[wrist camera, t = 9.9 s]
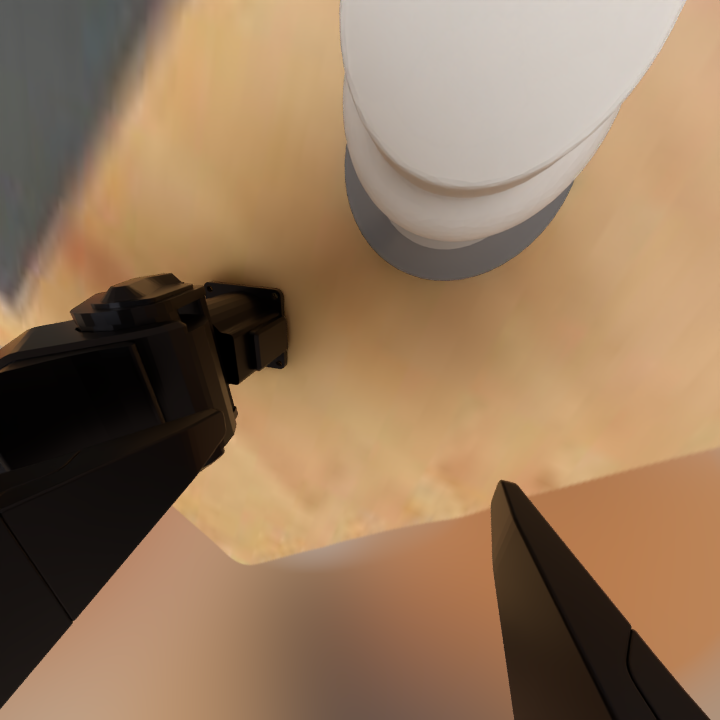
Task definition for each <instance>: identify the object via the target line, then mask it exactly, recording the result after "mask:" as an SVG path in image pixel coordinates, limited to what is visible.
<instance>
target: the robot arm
mask: <svg viewBox="0 0 720 720" xmlns="http://www.w3.org/2000/svg"><path fill="white" fill-rule="evenodd" d="M210 286H211V287H212V289H213V291H212V290H211V288H210ZM274 293H276V294H277V296H278V298H275V297H274ZM205 296H206V299H205ZM70 313H71V315H72V318H73V320H71V321H66V322H60V323H55V324H49V325H44V326H38V327H34V328H31V329H29V330H27V331H25V332H24V333H22V334H21V335H20V336H18V337H17V338H15V339H14V340H12V341H11V342H10V343H8V344H7V345H5V346H4V347H3V348H1V349H0V709H1V708H2V706H3V705H4V704H5V703H6V702H7V701H8V699H9V698H10V697H11V696H12V695H13V693H14V692H15V691H16V690H17V689H18V687H19V686H20V685H21V684H22V683H23V682H24V680H25V679H26V678H27V677H28V676H29V674H30V673H31V672H32V671H33V670H34V668H35V667H36V666H37V665H38V664H39V663H40V661H41V660H42V659H43V658H44V657H45V655H46V654H47V653H48V652H49V651H50V650H51V648H52V647H53V646H54V645H55V644H56V642H57V641H58V640H59V639H60V638H61V636H62V635H63V634H64V633H65V632H66V631H67V629H68V628H69V627H70V626H71V624H72V623H73V621H74V620H75V619H76V618H77V617H78V616H79V615H80V614H81V612H82V611H83V610H84V609H85V608H86V606H87V605H88V604H89V603H90V602H91V601H92V599H93V598H94V597H95V596H96V595H97V593H98V592H99V591H100V590H101V589H102V587H103V586H104V585H105V584H106V583H107V582H108V580H109V579H110V578H111V577H112V576H113V574H114V573H115V572H116V571H117V569H119V567H120V566H121V565H122V564H123V563H124V561H125V560H126V559H127V558H128V557H129V555H130V554H131V553H132V552H133V551H134V549H135V548H136V547H137V545H139V543H140V542H141V541H142V540H143V539H144V538H145V537H146V535H147V534H148V533H149V532H150V531H151V529H152V528H153V527H154V526H155V525H156V523H157V522H158V521H159V520H160V519H161V518H162V516H163V515H164V514H165V513H166V512H167V510H168V509H169V508H170V507H171V506H172V505H173V503H174V502H175V501H176V500H177V499H178V497H179V496H180V495H181V494H182V493H183V491H184V490H185V489H186V488H187V487H188V486H189V484H190V483H191V482H192V481H193V480H194V478H195V477H196V476H197V475H198V473H199V472H200V471H202V470H203V469H205V468H206V467H208V466H209V465H211V464H212V463H214V462H215V461H216V460H217V459H219V458H220V457H221V456H222V455H223V454H224V452H225V450H224V446H226V444H227V443H228V442H229V440H230V439H231V438H232V436H233V435H234V432H235V428H236V425H237V424H236V420H235V419H236V417H237V415H238V412H237V408H236V406H234V403H233V399H232V396H231V392H230V388H229V384H234V385H238V384H239V383H241V382H242V381H243V380H245V379H246V378H247V377H248V376H250V375H251V374H252V373H254V372H255V371H260V370H262V369H263V368H264V367H271V368H277V369H282V368H284V367H285V366H286V365H287V353H286V350H287V349H288V339H287V321H286V318H285V317H284V301H283V293H282V292H281V290H279V289H277V288H267V287H258V286H249V285H240V284H231V283H222V282H207V283H205V285H204V286H193V285H192V284H184V282H181V281H180V280H179V279H178V278H177V277H175V276H174V275H173V274H172V273H168V274H158V275H151V276H145V277H139V278H134V279H131V280H128V281H125V282H122V283H119V284H117V285H114V286H111V287H110V288H109V289H108V291H107V292H103V293H98V294H95V295H94V296H92V297H90V298H89V299H87V300H86V301H84V302H83V303H81V304H80V305H78V306H77V307H75V308H73V309H72V310H71V311H70ZM279 361H281V362H282V364H280V363H279ZM491 528H492V529H491V532H492V559H493V560H492V561H493V572H494V580H495V587H496V594H497V601H498V608H499V615H500V622H501V629H502V636H503V644H504V651H505V658H506V665H507V672H508V678H509V686H510V693H511V700H512V707H513V714H514V720H710V719H709V718H708V716H707V715H706V714H705V713H704V712H703V711H702V709H701V708H700V707H699V706H698V705H697V704H696V703H695V701H694V700H693V699H692V698H691V697H690V696H689V695H688V694H687V692H686V691H685V690H684V689H683V688H682V686H681V685H680V684H679V683H678V682H677V681H676V679H675V678H674V677H673V676H672V674H671V673H670V672H669V671H668V670H667V668H666V667H665V666H664V665H663V664H662V662H661V661H660V660H659V659H658V658H657V656H656V655H655V654H654V653H653V652H652V650H651V649H650V648H649V647H648V645H647V644H646V643H645V642H644V640H643V639H642V638H641V637H640V635H639V634H638V633H637V632H636V631H635V630H634V629H631V625H630V624H629V622H628V621H627V620H626V618H625V617H624V616H623V615H622V613H621V612H620V611H619V610H618V608H617V607H616V606H615V605H614V604H613V602H612V601H611V600H610V599H609V597H608V596H607V595H606V594H605V592H604V591H603V590H602V589H601V587H600V586H599V585H598V584H597V583H596V581H595V580H594V579H593V578H592V576H591V575H590V574H589V573H588V571H587V570H586V569H585V568H584V566H583V565H582V564H581V563H580V562H579V560H578V559H577V558H576V557H575V555H574V554H573V553H572V552H571V551H570V549H569V548H568V547H567V546H566V544H565V543H564V542H563V541H562V539H561V538H560V537H559V536H558V535H557V533H556V532H555V531H554V530H553V528H552V527H551V526H550V524H549V523H548V522H547V521H546V520H545V518H544V517H543V516H542V515H541V513H540V512H539V511H538V510H537V508H536V507H535V506H534V505H533V504H532V502H531V501H530V500H529V499H528V497H527V496H526V495H525V494H524V492H523V491H522V490H521V489H520V487H519V486H518V485H517V484H515V483H513V482H508V481H504V480H500V481H499V482H498V485H497V487H496V490H495V493H494V496H493V498H492V502H491Z"/></svg>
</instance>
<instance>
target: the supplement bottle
mask: <svg viewBox="0 0 720 720" xmlns="http://www.w3.org/2000/svg"><path fill="white" fill-rule="evenodd" d="M685 2H686V0H340V41H341V51H342V57H343V64H344V70H345V75H344V86H343V118H344V128H345V135H346V140H347V146H348V150H349V153H350V157H351V160H352V163H353V166H354V169H355V171H356V174H357V176H358V178H359V180H360V182H361V184H362V186H363V188H364V189H365V191H366V192H367V194H368V195H369V197H370V198H371V200H372V201H373V202H374V204H375V205H376V206H377V207H378V208H379V209H380V210H381V211H382V212H383V213H384V214H385V215H386V216H387V217H388V218H389V219H390V220H392V221H393V222H394V223H396V224H397V225H399V226H400V227H402V228H404V229H405V230H407V231H409V232H412V233H414V234H416V235H419V236H421V237H424V238H428V239H433V240H438V241H449V242H457V241H469V240H475V239H480V238H484V237H488V236H492V235H495V234H498V233H500V232H503V231H505V230H508V229H510V228H512V227H514V226H516V225H518V224H520V223H522V222H524V221H525V220H527V219H529V218H530V217H532V216H533V215H535V214H536V213H538V212H539V211H540V210H542V209H543V208H544V207H546V206H547V205H548V204H549V203H551V202H552V201H553V200H554V199H556V198H557V197H558V196H559V195H560V194H561V193H562V192H563V191H564V190H565V189H566V188H567V187H568V186H569V185H570V184H571V183H572V182H573V180H574V179H575V178H576V177H577V176H578V175H579V174H580V173H581V171H582V170H583V169H584V167H585V166H586V165H587V163H588V162H589V161H590V160H591V158H592V157H593V156H594V154H595V153H596V151H597V149H598V148H599V146H600V145H601V143H602V141H603V140H604V138H605V137H606V135H607V133H608V131H609V130H610V128H611V126H612V124H613V122H614V120H615V118H616V116H617V114H618V112H619V109H620V107H621V104H622V103H623V102H624V101H625V99H626V98H627V97H628V96H629V95H630V93H631V92H632V91H633V89H634V88H635V87H636V85H637V84H638V83H639V82H640V80H641V79H642V77H643V76H644V75H645V73H646V72H647V70H648V69H649V68H650V66H651V65H652V63H653V61H654V60H655V58H656V57H657V55H658V53H659V52H660V50H661V48H662V47H663V45H664V43H665V41H666V40H667V38H668V36H669V34H670V32H671V31H672V29H673V27H674V25H675V23H676V21H677V18H678V16H679V14H680V12H681V10H682V8H683V6H684V4H685Z"/></svg>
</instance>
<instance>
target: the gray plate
mask: <svg viewBox="0 0 720 720" xmlns="http://www.w3.org/2000/svg"><path fill="white" fill-rule="evenodd" d="M345 182H346V189H347V196H348V200H349V204H350V208H351V211H352V213H353V216H354V219H355V221H356V223H357V225H358V227H359V229H360V231H361V233H362V235H363V236H364V238H365V239H366V240H367V242H368V243H369V245H370V246H371V247H372V248H373V249H374V250H375V251H376V253H377V254H378V255H379V256H381V257H382V258H383V259H384V260H385V261H387V262H388V263H389V264H391V265H392V266H394V267H395V268H397V269H399V270H401V271H403V272H405V273H407V274H410V275H413V276H416V277H419V278H423V279H429V280H441V281H450V280H459V279H465V278H469V277H474V276H477V275H480V274H483V273H485V272H488V271H490V270H492V269H494V268H496V267H498V266H500V265H502V264H504V263H506V262H507V261H509V260H510V259H512V258H513V257H515V256H517V255H518V254H519V253H520V252H521V251H523V250H524V249H525V248H526V247H528V246H529V245H530V244H531V243H532V242H533V241H534V240H535V239H536V238H537V237H538V236H539V235H540V234H541V233H542V232H543V231H544V229H545V228H546V227H547V226H548V224H549V223H550V222H551V221H552V219H553V218H554V217H555V215H556V213H557V212H558V210H559V209H560V207H561V206H562V204H563V203H564V201H565V199H566V197H567V195H568V193H569V191H570V189H571V187H572V185H573V182H574V180H573V182H572V183H571V184H570V185H569V186H568V187H567V188H566V189H565V190H564V191H563V192H562V193H561V194H560V195H559V196H558V197H557V198H556V199H554V200H553V201H552V202H551V203H549V204H548V205H547V206H546V207H544V208H543V209H542V210H540V211H539V212H538V213H536V214H535V215H533V216H532V217H530V218H529V219H527V220H525V221H524V222H522V223H520V224H518V225H516V226H514V227H512V228H510V229H508V230H505V231H503V232H500V233H498V234H495V235H492V236H488V237H484V238H480V239H475V240H469V241H457V242H449V241H438V240H433V239H428V238H424V237H421V236H419V235H416V234H414V233H412V232H409V231H407V230H405V229H404V228H402V227H400V226H399V225H397V224H396V223H394V222H393V221H392V220H390V219H389V218H388V217H387V216H386V215H385V214H384V213H383V212H382V211H381V210H380V209H379V208H378V207H377V206H376V205H375V204H374V202H373V201H372V200H371V198H370V197H369V195H368V194H367V192H366V191H365V189H364V188H363V186H362V184H361V182H360V180H359V178H358V176H357V174H356V171H355V169H354V166H353V163H352V160H351V157H350V153H349V150H348V146H347V144H346V154H345Z"/></svg>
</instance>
